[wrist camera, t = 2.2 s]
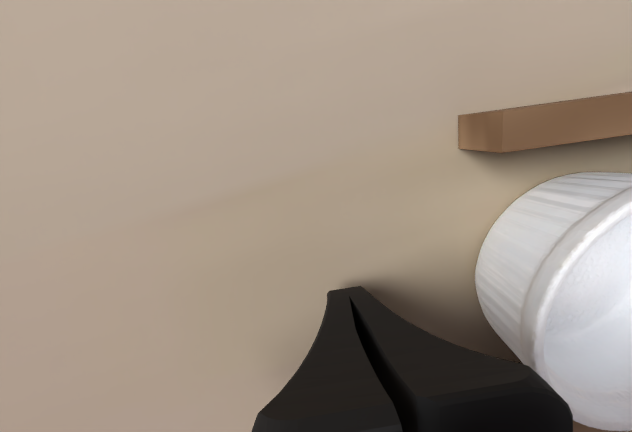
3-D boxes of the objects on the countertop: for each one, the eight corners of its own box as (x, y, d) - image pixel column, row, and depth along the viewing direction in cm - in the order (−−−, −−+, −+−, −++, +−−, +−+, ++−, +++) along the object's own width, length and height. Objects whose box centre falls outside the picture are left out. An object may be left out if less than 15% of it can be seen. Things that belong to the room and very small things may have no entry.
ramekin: (667, 138, 12) (859, 142, 8) (644, 326, 15) (783, 403, 11) (451, 183, 12) (535, 210, 8) (464, 365, 15) (534, 459, 10)
